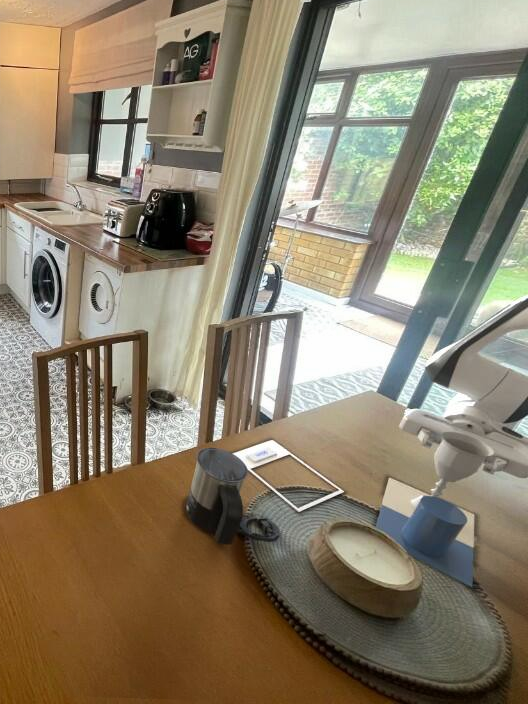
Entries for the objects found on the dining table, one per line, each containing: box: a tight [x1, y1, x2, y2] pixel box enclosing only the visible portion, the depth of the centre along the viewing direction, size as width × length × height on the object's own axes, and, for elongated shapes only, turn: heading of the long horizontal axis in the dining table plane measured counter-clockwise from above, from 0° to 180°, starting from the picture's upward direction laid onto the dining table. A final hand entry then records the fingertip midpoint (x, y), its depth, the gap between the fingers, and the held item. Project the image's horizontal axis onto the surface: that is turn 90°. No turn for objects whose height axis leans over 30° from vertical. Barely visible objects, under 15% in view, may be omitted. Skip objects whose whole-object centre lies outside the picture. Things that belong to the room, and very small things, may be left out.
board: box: [375, 477, 476, 588], centre depth 84 cm, size 22×14×1 cm, turn 134°
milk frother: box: [185, 447, 281, 546], centre depth 82 cm, size 14×16×15 cm
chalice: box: [411, 432, 494, 508], centre depth 83 cm, size 7×7×18 cm
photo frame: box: [232, 439, 345, 513], centre depth 96 cm, size 15×1×18 cm
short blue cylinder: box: [402, 496, 467, 557], centre depth 78 cm, size 6×6×9 cm
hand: (456, 456), depth 85 cm, fingers open, 8 cm apart
